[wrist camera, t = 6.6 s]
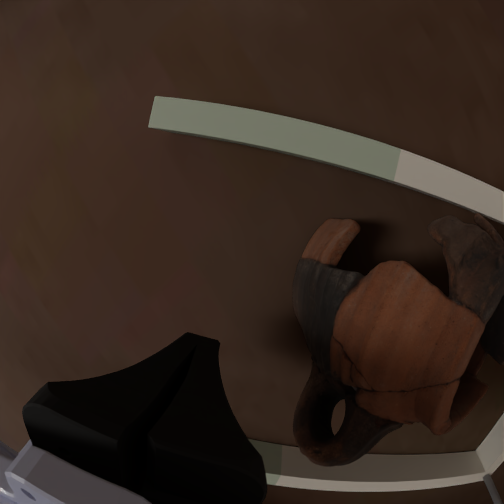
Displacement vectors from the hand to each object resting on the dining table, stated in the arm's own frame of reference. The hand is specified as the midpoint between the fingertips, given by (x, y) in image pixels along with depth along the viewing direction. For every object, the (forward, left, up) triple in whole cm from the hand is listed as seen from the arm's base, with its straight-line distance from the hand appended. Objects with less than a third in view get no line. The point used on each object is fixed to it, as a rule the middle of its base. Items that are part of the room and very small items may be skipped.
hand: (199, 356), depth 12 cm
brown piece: (+2, -8, -4) cm, 9 cm away
